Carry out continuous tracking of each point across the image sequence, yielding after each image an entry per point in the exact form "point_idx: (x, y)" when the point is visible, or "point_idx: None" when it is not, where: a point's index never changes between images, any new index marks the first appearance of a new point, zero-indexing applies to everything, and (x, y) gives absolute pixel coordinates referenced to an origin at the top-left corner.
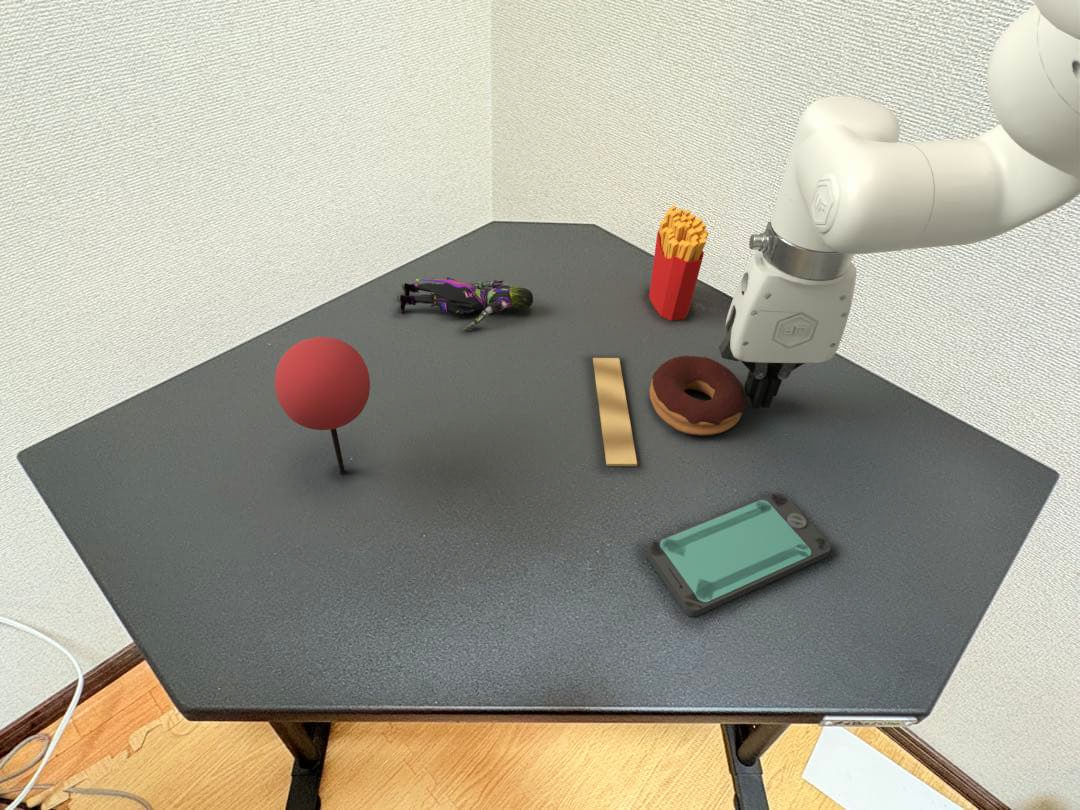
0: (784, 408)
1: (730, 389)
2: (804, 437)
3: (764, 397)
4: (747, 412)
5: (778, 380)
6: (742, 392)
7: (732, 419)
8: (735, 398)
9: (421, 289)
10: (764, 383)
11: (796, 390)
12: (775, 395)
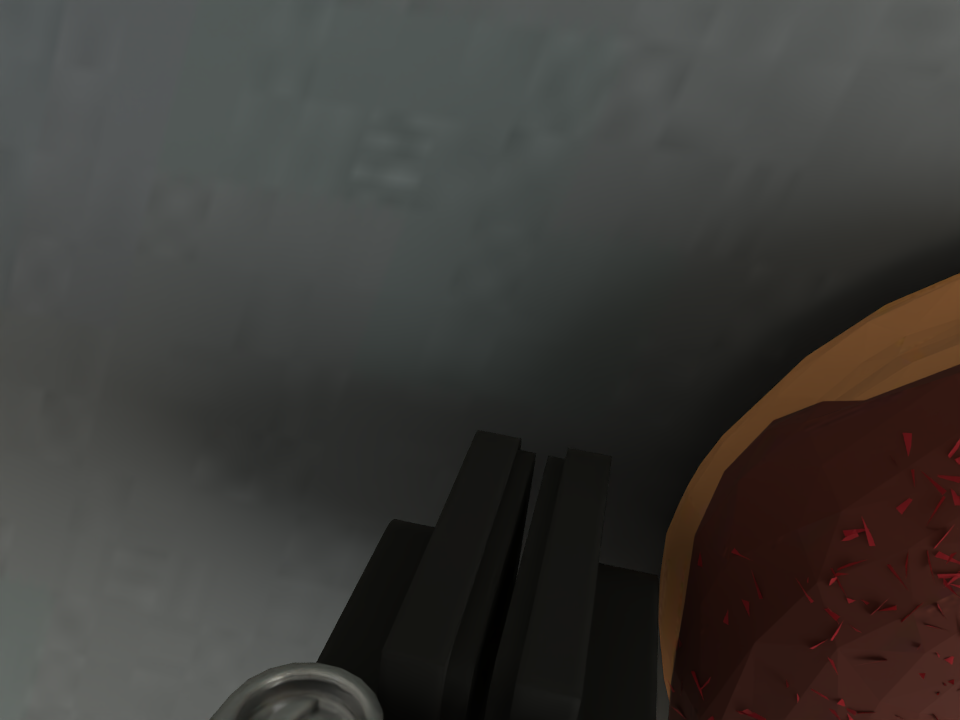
0: (320, 438)
1: (923, 680)
2: (260, 122)
3: (517, 521)
4: (620, 456)
5: (357, 664)
6: (754, 617)
7: (957, 337)
8: (925, 554)
9: None
10: (558, 663)
11: (187, 569)
12: (397, 525)
